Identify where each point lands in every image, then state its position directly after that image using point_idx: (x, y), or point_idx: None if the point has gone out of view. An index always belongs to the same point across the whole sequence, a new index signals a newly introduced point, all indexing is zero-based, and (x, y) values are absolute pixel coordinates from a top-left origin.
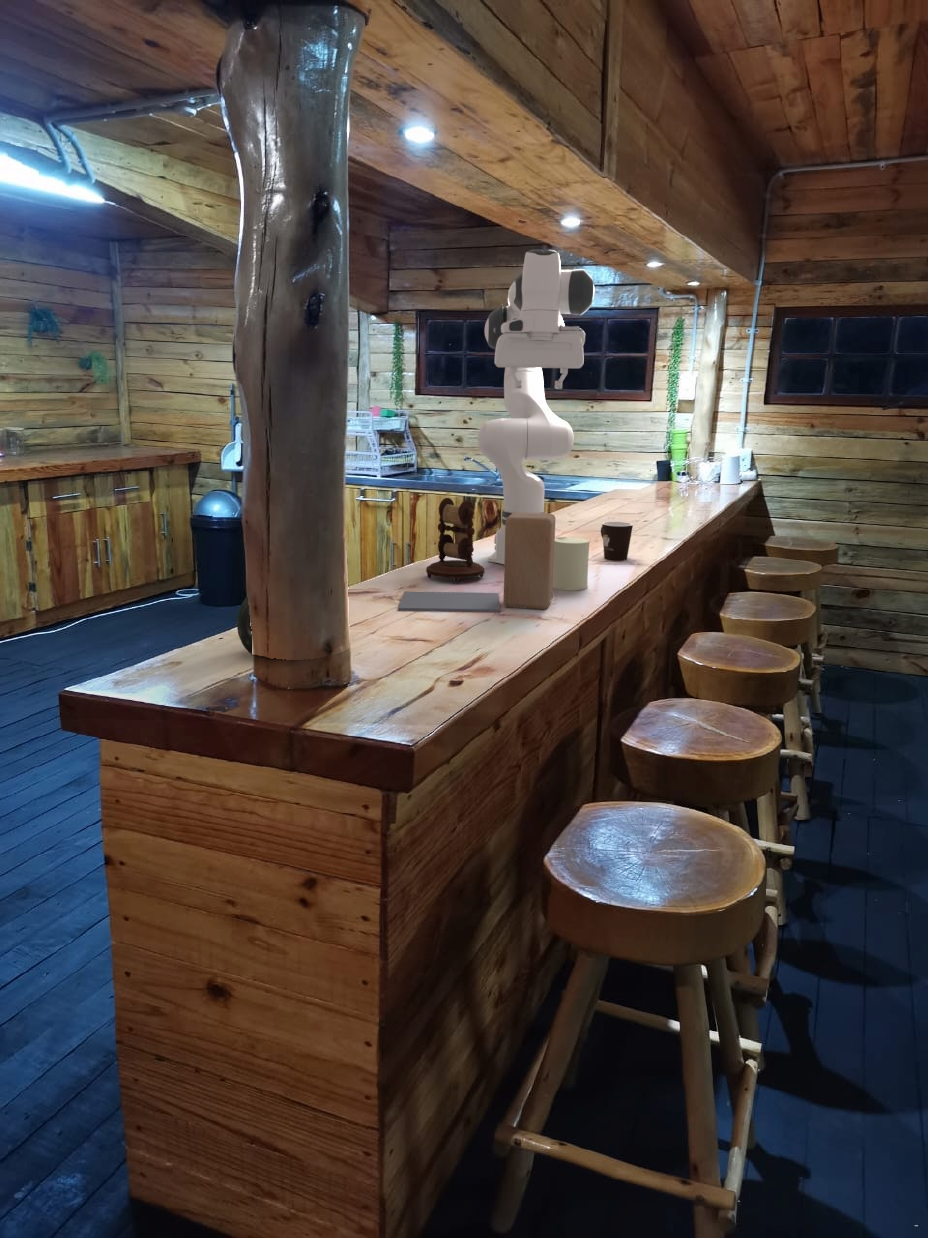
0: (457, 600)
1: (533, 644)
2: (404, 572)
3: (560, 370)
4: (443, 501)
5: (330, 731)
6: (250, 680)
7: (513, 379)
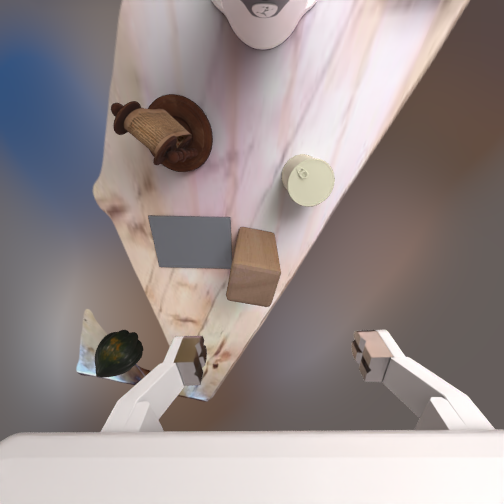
0: (198, 245)
1: (250, 325)
2: None
3: (436, 420)
4: (116, 125)
5: (181, 395)
6: None
7: (158, 369)
